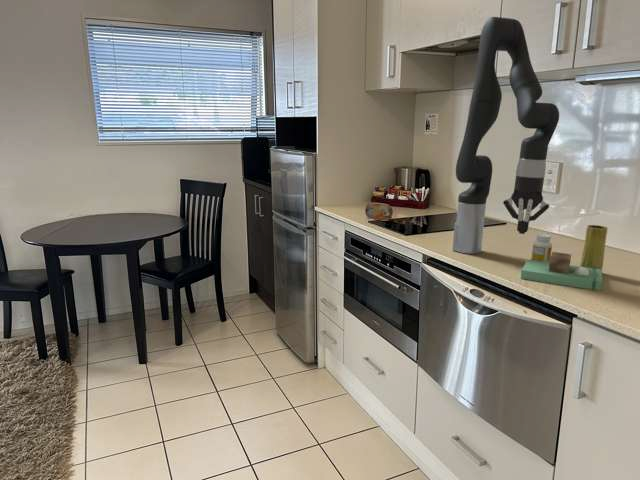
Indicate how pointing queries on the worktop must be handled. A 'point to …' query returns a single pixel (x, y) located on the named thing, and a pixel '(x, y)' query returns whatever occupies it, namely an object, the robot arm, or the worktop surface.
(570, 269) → the green
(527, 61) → the robot arm
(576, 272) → the ball
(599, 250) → the vase
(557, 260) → the block
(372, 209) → the tin
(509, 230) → the worktop surface
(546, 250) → the supplement bottle
